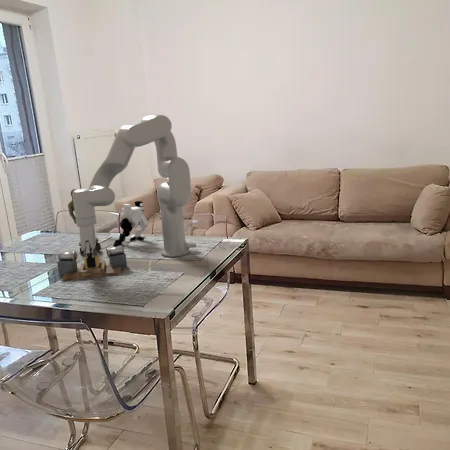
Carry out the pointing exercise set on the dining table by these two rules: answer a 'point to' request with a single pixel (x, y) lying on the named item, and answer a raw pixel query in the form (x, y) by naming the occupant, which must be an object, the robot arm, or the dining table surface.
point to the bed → (92, 272)
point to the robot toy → (132, 223)
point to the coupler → (95, 259)
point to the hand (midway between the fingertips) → (92, 264)
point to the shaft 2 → (117, 257)
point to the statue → (71, 208)
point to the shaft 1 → (67, 263)
